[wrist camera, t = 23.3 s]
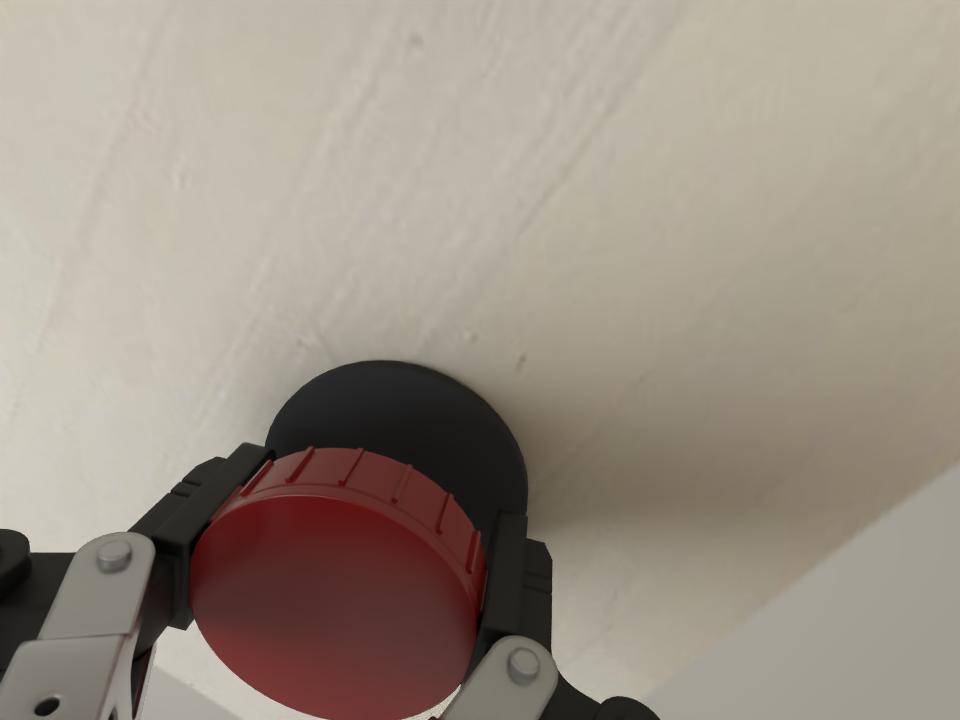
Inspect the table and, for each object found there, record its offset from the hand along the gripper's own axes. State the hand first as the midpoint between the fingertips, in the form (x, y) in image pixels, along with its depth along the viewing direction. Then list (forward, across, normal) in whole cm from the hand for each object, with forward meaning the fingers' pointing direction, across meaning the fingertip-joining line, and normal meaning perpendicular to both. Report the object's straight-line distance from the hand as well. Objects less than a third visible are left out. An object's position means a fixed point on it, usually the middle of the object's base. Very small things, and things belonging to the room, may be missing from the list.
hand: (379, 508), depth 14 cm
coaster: (+1, 0, 0) cm, 1 cm away
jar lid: (-3, 0, 0) cm, 3 cm away
